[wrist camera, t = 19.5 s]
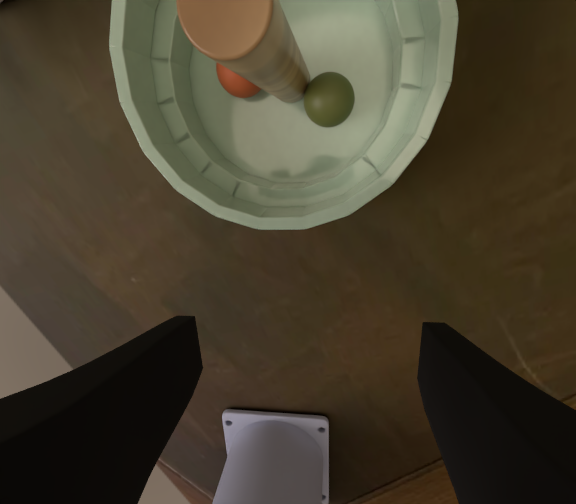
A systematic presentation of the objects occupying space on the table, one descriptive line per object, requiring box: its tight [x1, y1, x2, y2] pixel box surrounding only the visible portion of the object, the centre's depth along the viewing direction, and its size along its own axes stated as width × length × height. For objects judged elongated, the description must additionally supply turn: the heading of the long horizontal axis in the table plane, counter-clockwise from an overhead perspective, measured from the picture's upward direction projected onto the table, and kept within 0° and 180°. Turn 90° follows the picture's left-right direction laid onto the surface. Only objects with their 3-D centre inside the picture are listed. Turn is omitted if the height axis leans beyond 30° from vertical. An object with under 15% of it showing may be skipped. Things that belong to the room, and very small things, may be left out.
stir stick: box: [176, 0, 310, 103], centre depth 12 cm, size 2×2×11 cm
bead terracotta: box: [216, 63, 261, 98], centre depth 16 cm, size 2×2×2 cm
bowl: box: [109, 0, 459, 230], centre depth 15 cm, size 13×13×5 cm
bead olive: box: [304, 72, 355, 127], centre depth 16 cm, size 2×2×2 cm
